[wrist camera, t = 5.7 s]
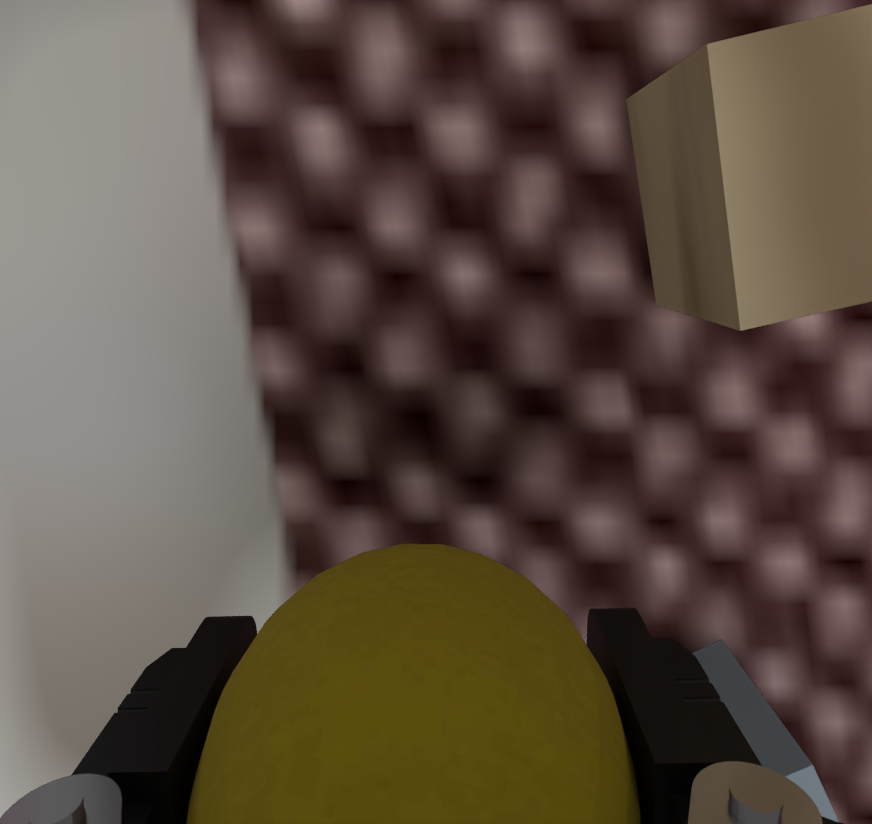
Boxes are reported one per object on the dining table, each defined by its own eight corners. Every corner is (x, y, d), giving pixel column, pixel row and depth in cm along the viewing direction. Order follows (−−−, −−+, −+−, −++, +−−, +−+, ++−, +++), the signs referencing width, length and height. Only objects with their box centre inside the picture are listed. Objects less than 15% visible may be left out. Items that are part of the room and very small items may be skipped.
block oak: (833, 50, 16) (1004, -28, 12) (849, 260, 18) (1010, 270, 13) (624, 100, 17) (707, 43, 12) (655, 305, 18) (740, 330, 13)
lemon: (276, 728, 14) (58, 1366, 6) (282, 462, 12) (12, 835, 5) (554, 748, 14) (700, 1407, 6) (590, 485, 12) (836, 892, 5)
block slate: (720, 638, 20) (812, 765, 15) (780, 765, 21) (884, 921, 16) (565, 707, 21) (607, 851, 16) (632, 828, 22) (690, 997, 17)
